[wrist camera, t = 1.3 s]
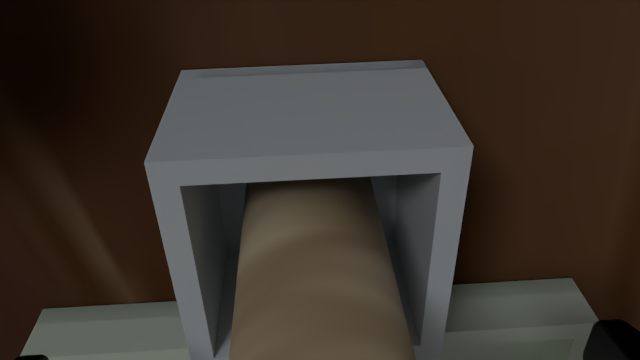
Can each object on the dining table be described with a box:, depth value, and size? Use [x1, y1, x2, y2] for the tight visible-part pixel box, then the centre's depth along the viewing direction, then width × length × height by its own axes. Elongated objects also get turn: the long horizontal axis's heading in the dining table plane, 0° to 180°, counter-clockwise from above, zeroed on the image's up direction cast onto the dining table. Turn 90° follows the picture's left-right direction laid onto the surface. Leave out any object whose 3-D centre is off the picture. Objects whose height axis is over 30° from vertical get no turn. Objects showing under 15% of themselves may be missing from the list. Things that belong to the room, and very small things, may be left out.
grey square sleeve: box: [144, 60, 474, 360], centre depth 12 cm, size 6×6×4 cm
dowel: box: [229, 176, 416, 360], centre depth 10 cm, size 3×3×8 cm
